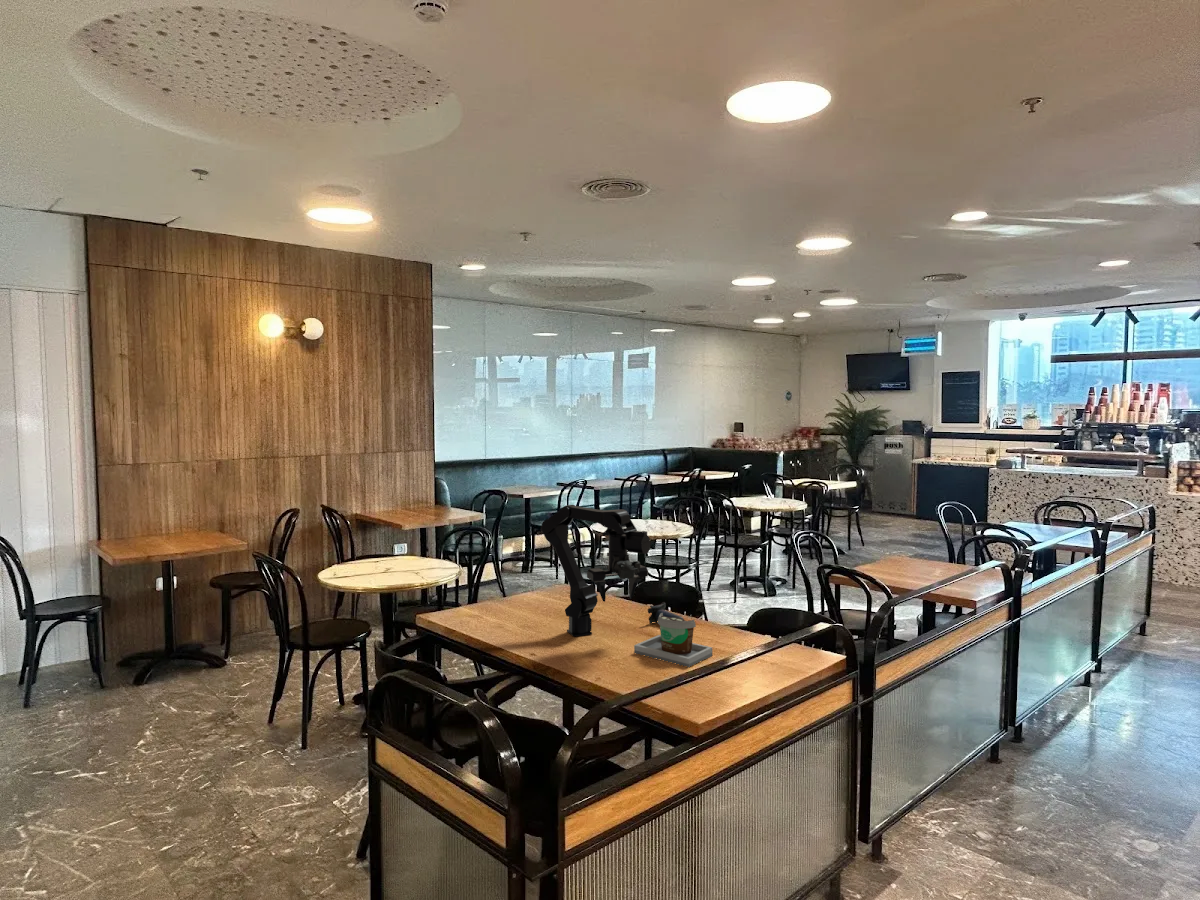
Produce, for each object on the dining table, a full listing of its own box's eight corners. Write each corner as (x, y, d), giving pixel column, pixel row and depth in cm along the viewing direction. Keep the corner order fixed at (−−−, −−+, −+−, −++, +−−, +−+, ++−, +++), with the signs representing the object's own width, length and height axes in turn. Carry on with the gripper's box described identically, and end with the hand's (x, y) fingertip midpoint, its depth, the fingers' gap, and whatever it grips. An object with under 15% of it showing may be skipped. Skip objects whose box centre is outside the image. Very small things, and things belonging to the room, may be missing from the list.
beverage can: (648, 627, 249) (675, 637, 240) (646, 606, 247) (673, 615, 239) (665, 617, 255) (692, 627, 246) (663, 597, 253) (691, 605, 245)
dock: (688, 667, 206) (688, 658, 206) (634, 653, 218) (634, 645, 218) (712, 655, 216) (712, 647, 216) (658, 642, 228) (659, 634, 228)
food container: (649, 649, 218) (649, 616, 217) (660, 644, 223) (661, 612, 222) (684, 658, 210) (684, 624, 210) (695, 653, 215) (695, 619, 214)
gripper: (600, 557, 217) (600, 609, 218) (656, 552, 224) (656, 603, 225) (586, 550, 227) (586, 600, 228) (640, 546, 234) (639, 595, 235)
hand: (617, 600), depth 229 cm, fingers open, 9 cm apart
